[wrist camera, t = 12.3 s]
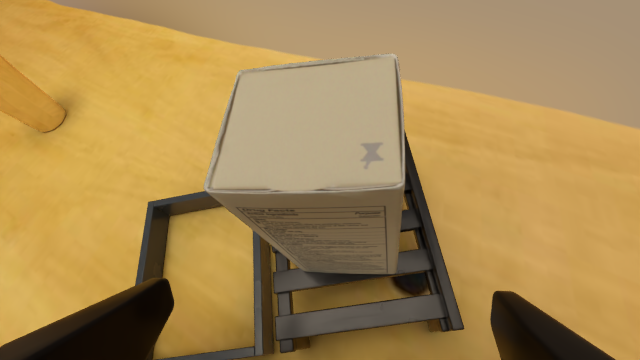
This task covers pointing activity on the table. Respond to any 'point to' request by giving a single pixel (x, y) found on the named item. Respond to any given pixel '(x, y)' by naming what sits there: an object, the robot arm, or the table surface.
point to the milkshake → (27, 100)
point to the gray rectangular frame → (154, 261)
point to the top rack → (426, 258)
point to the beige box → (317, 161)
